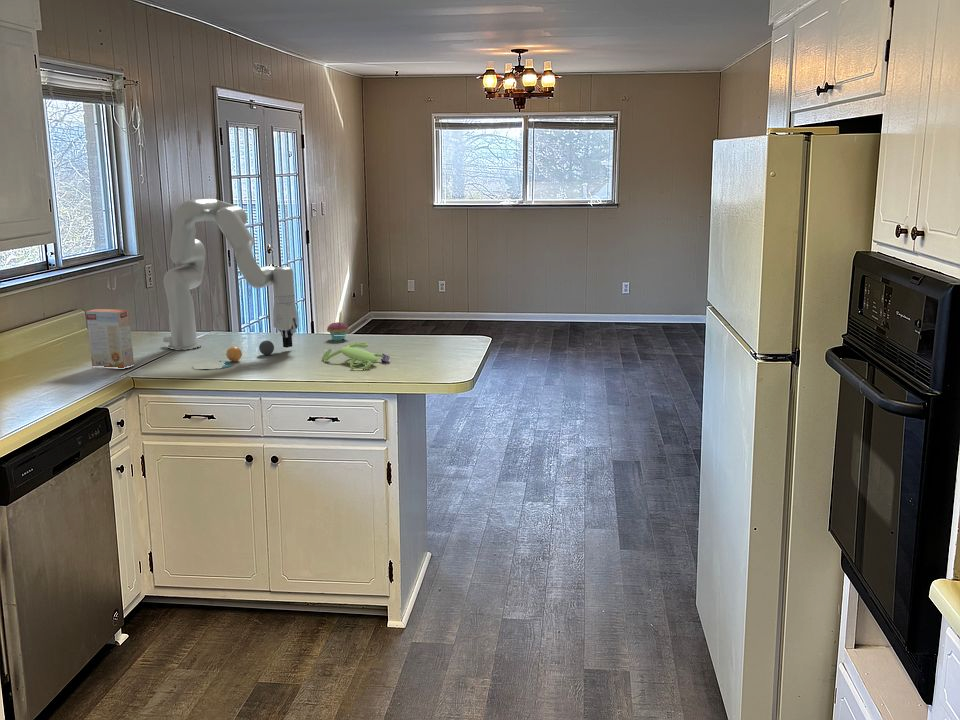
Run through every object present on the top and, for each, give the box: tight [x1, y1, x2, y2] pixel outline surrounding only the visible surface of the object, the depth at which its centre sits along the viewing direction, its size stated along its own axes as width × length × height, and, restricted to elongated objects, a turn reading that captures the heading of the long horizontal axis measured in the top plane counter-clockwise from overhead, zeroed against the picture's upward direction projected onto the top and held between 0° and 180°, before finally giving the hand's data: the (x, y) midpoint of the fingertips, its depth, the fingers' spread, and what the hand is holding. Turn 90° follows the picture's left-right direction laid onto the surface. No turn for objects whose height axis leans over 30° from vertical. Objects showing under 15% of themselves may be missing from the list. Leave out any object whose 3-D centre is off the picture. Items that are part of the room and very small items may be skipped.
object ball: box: [226, 346, 243, 363], centre depth 323 cm, size 6×6×6 cm
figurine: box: [320, 342, 390, 370], centre depth 319 cm, size 18×27×6 cm
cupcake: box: [326, 311, 349, 342], centre depth 359 cm, size 9×8×12 cm
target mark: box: [222, 360, 234, 369], centre depth 317 cm, size 14×14×1 cm
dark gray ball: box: [258, 340, 275, 356], centre depth 333 cm, size 6×6×6 cm
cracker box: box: [85, 308, 135, 368], centre depth 314 cm, size 14×6×21 cm, turn 71°
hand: (287, 346), depth 340 cm, fingers closed
